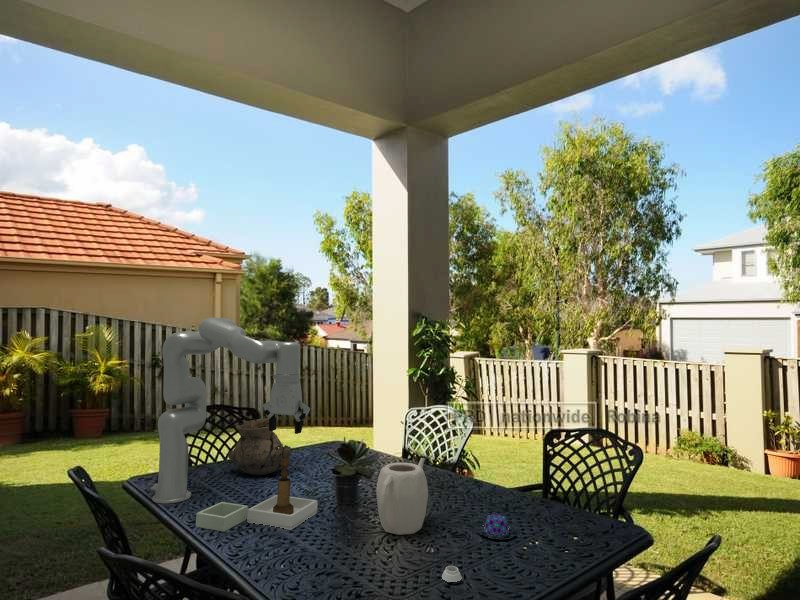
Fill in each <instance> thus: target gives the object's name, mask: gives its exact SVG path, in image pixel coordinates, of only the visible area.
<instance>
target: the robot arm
mask: <svg viewBox="0 0 800 600" xmlns="http://www.w3.org/2000/svg"><path fill="white" fill-rule="evenodd" d="M220 348H223V349H224V348H225V349H227V350H229V351H230V352H231V353H232V354H233V355H234V356H235V357H237V358H239V359H241V360H244V361H245V362H249V363H252V364H258V365H261V364H275V363H276V364H275V366H276V367H275V374H274V375H273V376H272V379H273V380H275V382H273V384H272V387H271V391H270V397H269V401H267V402H265V403H263V404H262V408H263V410H264V414H266V416H267V419H268V427H269V431H273V432H274V431H276V430H277V417H276V416H279V415H281V416H293V417H294V419H295V422H294V434H295V435H297V434H301V433H302V432H303V421H304V420H305V419H306V417H308V416H309V415H308V414H310V411H311V408H310V407H309V406H308V405H307V404H306V403H304V402H303V396H302V393H303V392H302V386H301V383H300V381H299V380H300V359H301V358H300V357H301V345H300V343H299V342H295V341H279V340H257V339H254V338H251V337H249V336H247V334H246V331H245V329H244V328H242V327H240V326H238V325H237V324H236V322H235V321H234V320H232V319H230V318H227V317H225V318H224V317H208V318H207V317H206V318H205V319H203V320H201V322H199V324H198V327H197V331H191V330H187V331H185V330H184V331H177V332H174V333H172V334H170V335H168V336H167V338H166V339H165V340H164V342H163V345H162V351H161V352H162V359H163V361H162V362H163V389H162V392H163V400H164V402H165V403H166V404H167V405H170V406H177V405H184V407H178V408H177V407H176V408H171V409H167V410H166V411H164V412H163V413H162V414H160V416H159V417H158V421H157V430H158V435H159V454H158V455H159V460H158V475H157V476H158V480H157V483H156V482H155V483H153V486H151V487H150V491H154V493H155V494H154V495H153V496H152V502H154V503H156V504H165V505H166V504H174V503H181V502H183V501H186V500H188V499H190V498H191V497H192V491H190V490H188V486H187V485H188V467H189V443H188V440H187V439H186V437H185V434H189V433H194V432H196V431H197V432H198V431H200V430H201V429H203V427H204V425H205V423H206V420H207V419H206V418H207V388H206V384H205V382H204V381H203V380H202V379H201V378H200V377H195V376H190V365H189V362H188V360H187V358H186V356H188V355H192V356H193V355H207V354H211V353H213V352H214V351H216V350H218V349H220ZM302 410H303V412H302Z"/></svg>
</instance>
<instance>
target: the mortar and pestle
mask: <svg viewBox="0 0 800 600" xmlns="http://www.w3.org/2000/svg"><path fill="white" fill-rule="evenodd" d="M280 465H281V467H282V468H281V471H280V476H281V477H280V478H278V479H277V495H278V499H277V504H276V505H275V506H274V507H273V512H275V513H281V514H288V515H291V514H293V511H294V507H293V505H291V504H290V497H291V478H290V477H288V474H289V471H288V470H287V469H288V467H289V465H290V458H289V459H288V458H286V457H284V458H282V459H281V460H280Z"/></svg>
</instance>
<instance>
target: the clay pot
mask: <svg viewBox="0 0 800 600" xmlns="http://www.w3.org/2000/svg"><path fill="white" fill-rule="evenodd" d="M268 422H269V419H268V417H267V418H265V417H264V418H259V419H258V418H257V419H253V420H247V421H244V422H243V425H242V424H241V425H240V424H237V426H236V430H237V431H238V432H239V434H240V437H239V438H238V440H237V442H236V444H235V447H234V449H233V450H230V451H229V452H228V455H227V458H228V459H229V460H231V461H233V462H234V463H235V464H236V466H237V467H238V469H239V470H240V471H242V472H243V473H245V474H247V475H252V476H266V475H270V474H272V473H274V472H278V471H279V470H282V467H281V465H280V460H281V459H282V458H284V457H286V458H288V459H289V460H290V457H291V454H292V452H291V449H292V447H291V446H288V445H287V444H283V443H282V442H281V439H279V437H278V435H277V434H276V433H275V432H274V431H269V426H266V427H265V425H266V424H267V423H268Z"/></svg>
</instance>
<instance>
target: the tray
mask: <svg viewBox="0 0 800 600" xmlns="http://www.w3.org/2000/svg"><path fill="white" fill-rule="evenodd" d="M277 499H278V494H275V495H273V496H271V497H270V498H269V497H268V498H267V499H265V500H264V501H261V502H260V503H257V504H256V505H253V506H252V507H250V508H249V507H248V511H247V520H246V523H247V522H248V524H253V523H255V525H259V524H263V525H262V526H265V525H270V526H269V527H271V526H275V527H274V528H276V527H280V528H279V529H282V528H284V530H287V531H288V530H289V531H292V530H293V529H295V528H296V527H298V526H299V525H301V524H303V522H306V521H307V520H309V519H310V518H312V517H313V516H314V515H316V514H317V513H318V500H316V499H310V498H309V499H308V498H304V497H303V498H302V497H295V496H290V504H291V505H293V507H294V511H293V514H291V515H288V514H281V513H275V512H273V507H274V506H275V505H276V504H277ZM308 518H309V519H308ZM305 520H306V521H305Z"/></svg>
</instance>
